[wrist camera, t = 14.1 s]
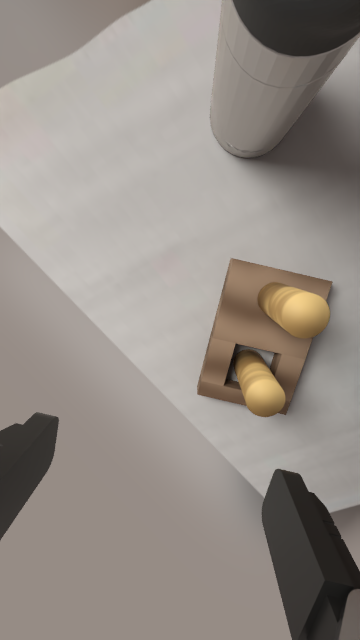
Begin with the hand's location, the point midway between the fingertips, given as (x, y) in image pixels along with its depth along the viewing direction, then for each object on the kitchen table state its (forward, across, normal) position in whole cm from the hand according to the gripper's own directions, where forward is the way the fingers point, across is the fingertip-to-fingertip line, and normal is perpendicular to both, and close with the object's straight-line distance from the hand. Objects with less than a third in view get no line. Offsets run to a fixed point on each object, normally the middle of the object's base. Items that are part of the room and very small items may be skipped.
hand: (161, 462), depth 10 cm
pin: (+28, -10, +5) cm, 30 cm away
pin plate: (+28, -10, +1) cm, 30 cm away
